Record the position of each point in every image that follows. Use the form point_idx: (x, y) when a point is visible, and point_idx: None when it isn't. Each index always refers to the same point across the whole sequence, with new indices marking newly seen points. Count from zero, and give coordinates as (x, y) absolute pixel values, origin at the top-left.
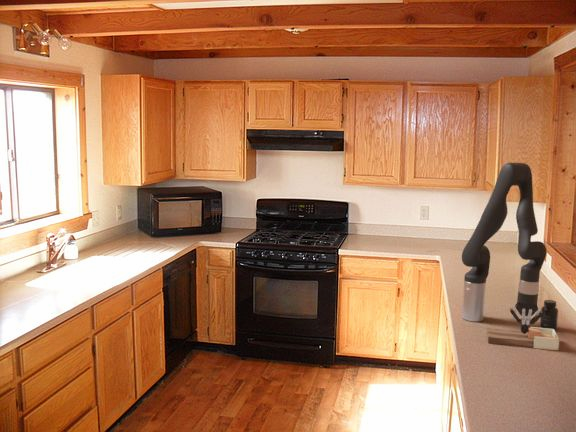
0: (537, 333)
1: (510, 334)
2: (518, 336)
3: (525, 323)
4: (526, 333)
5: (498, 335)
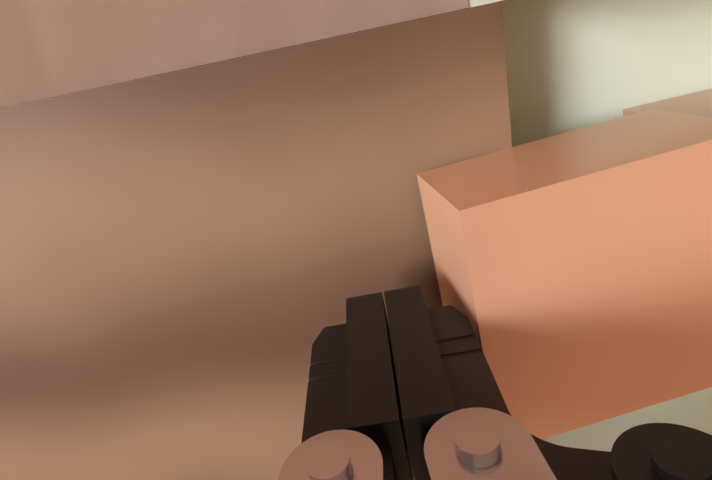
0: (648, 404)
1: (169, 321)
2: (304, 353)
3: (426, 466)
4: (429, 222)
5: (26, 437)
